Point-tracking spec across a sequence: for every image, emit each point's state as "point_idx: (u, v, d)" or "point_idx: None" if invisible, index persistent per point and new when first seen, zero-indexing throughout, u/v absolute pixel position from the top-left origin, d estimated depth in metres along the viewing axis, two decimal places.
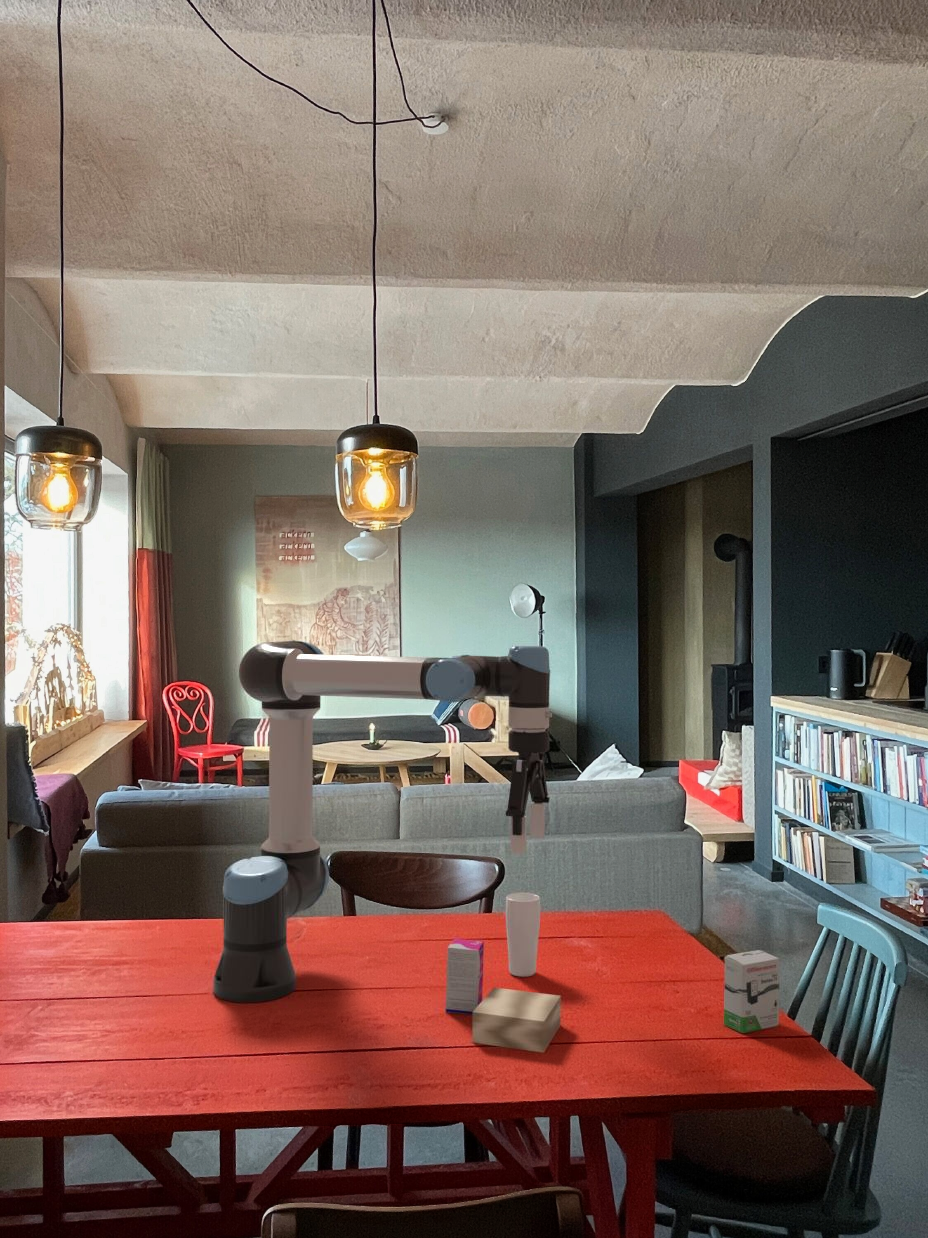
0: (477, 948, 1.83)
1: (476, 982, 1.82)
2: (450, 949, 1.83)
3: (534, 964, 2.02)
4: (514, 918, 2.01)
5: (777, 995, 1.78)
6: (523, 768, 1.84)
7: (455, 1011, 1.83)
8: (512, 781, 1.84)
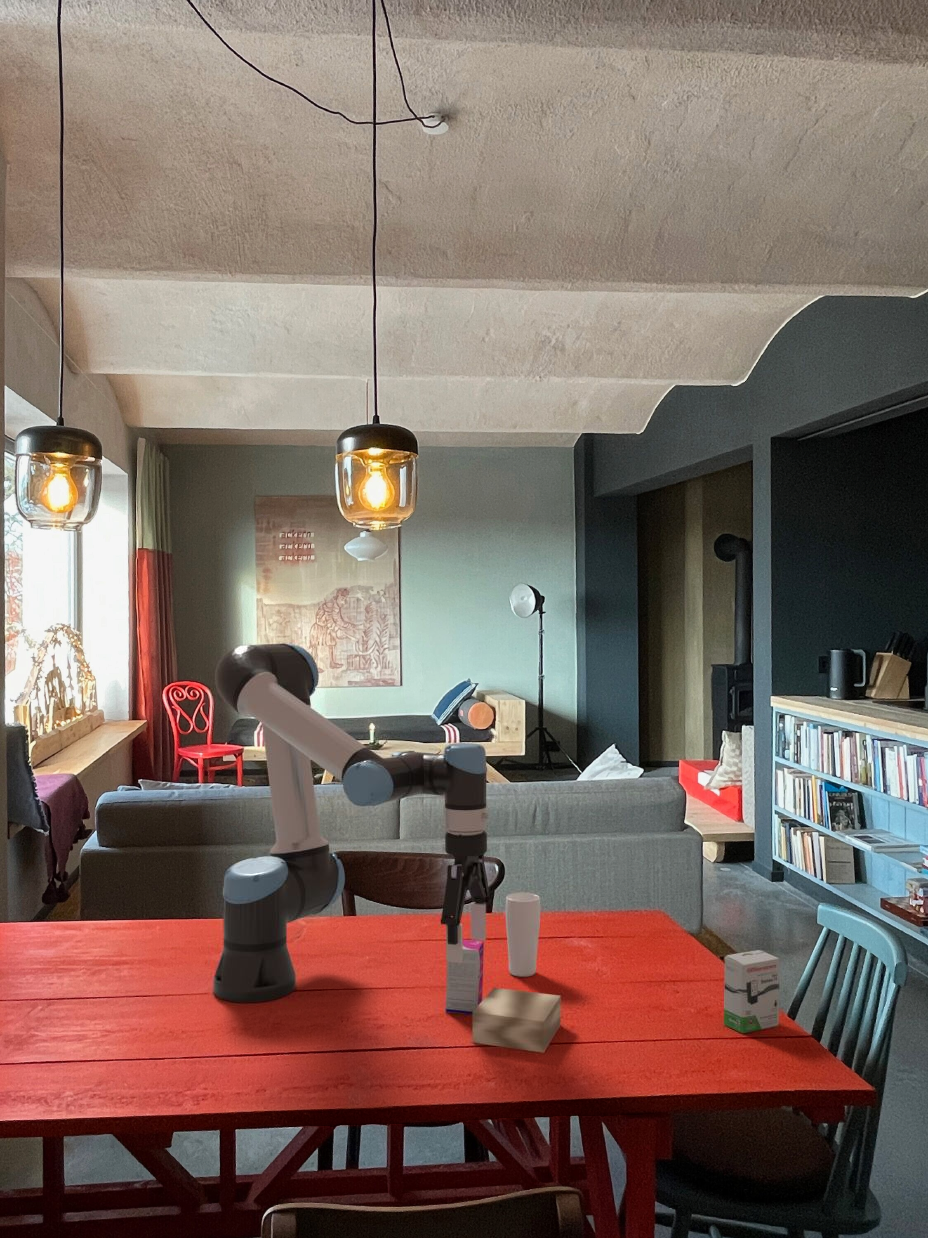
0: (477, 948, 1.83)
1: (476, 982, 1.82)
2: None
3: (534, 964, 2.02)
4: (514, 918, 2.01)
5: (777, 995, 1.78)
6: (458, 874, 1.78)
7: (455, 1011, 1.83)
8: (447, 888, 1.78)
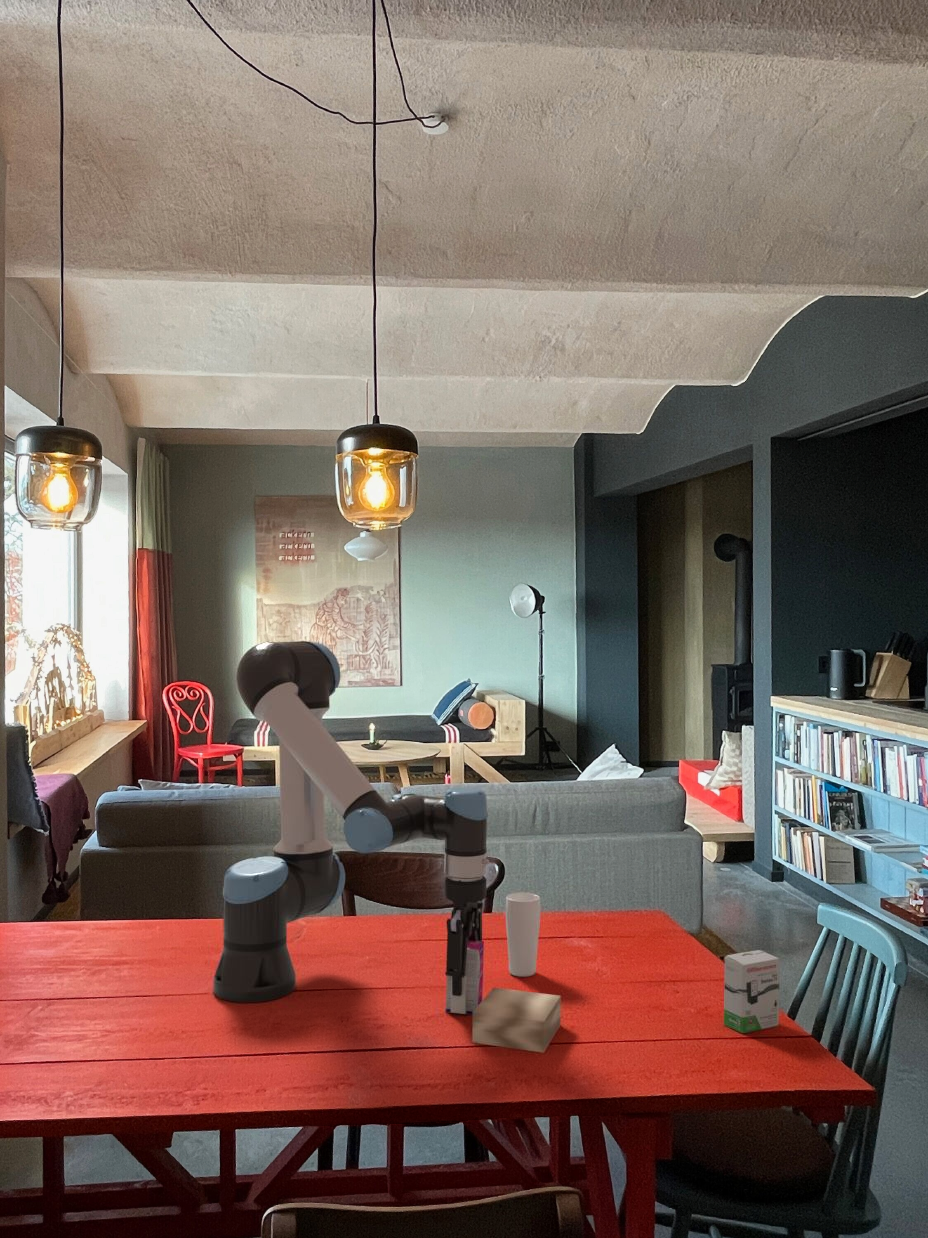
0: (477, 948, 1.83)
1: (476, 982, 1.82)
2: None
3: (534, 964, 2.02)
4: (514, 918, 2.01)
5: (777, 995, 1.78)
6: (458, 929, 1.79)
7: None
8: (448, 942, 1.79)
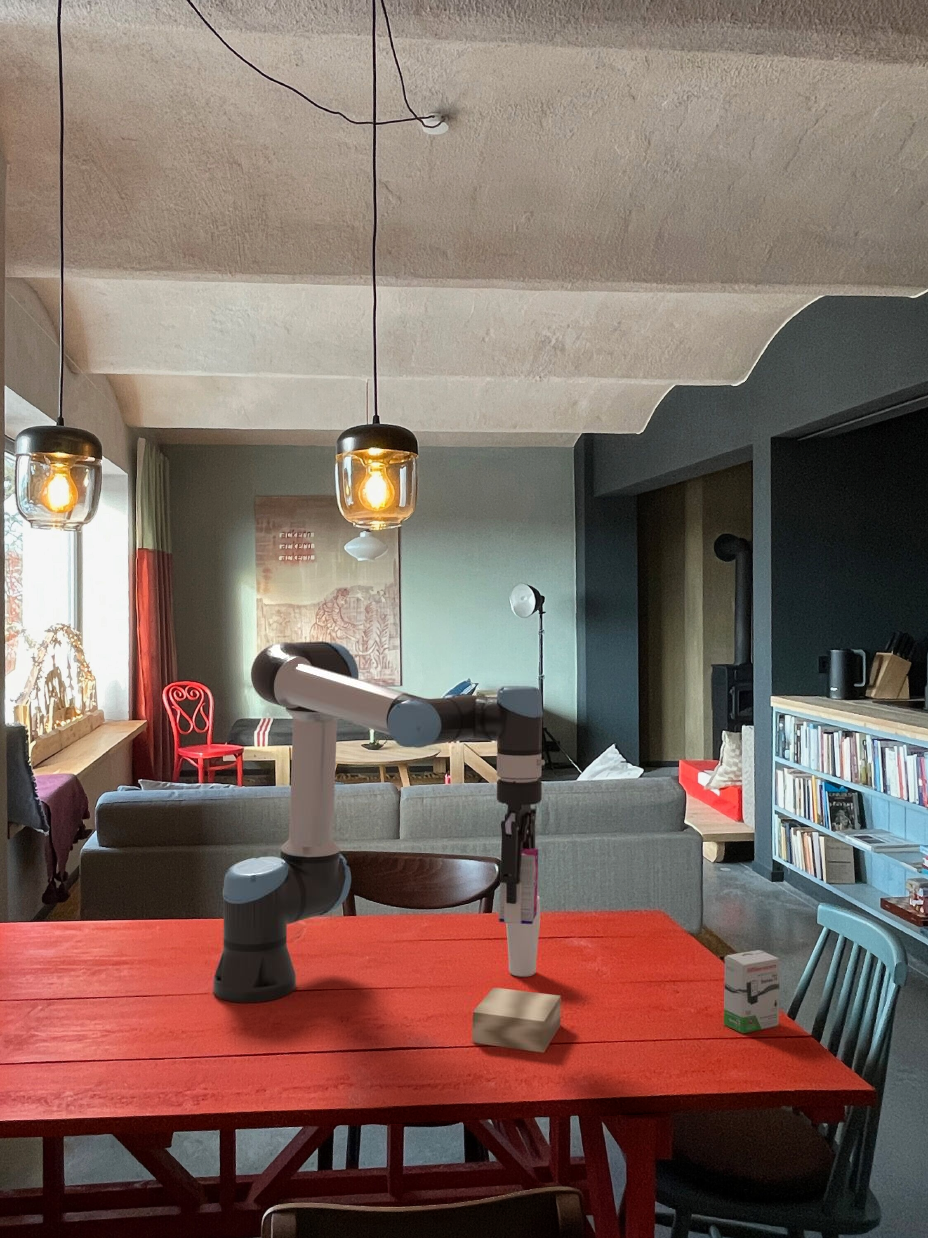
0: (533, 854, 1.72)
1: (532, 889, 1.71)
2: None
3: (534, 964, 2.02)
4: None
5: (777, 995, 1.78)
6: (513, 831, 1.68)
7: None
8: (502, 845, 1.68)
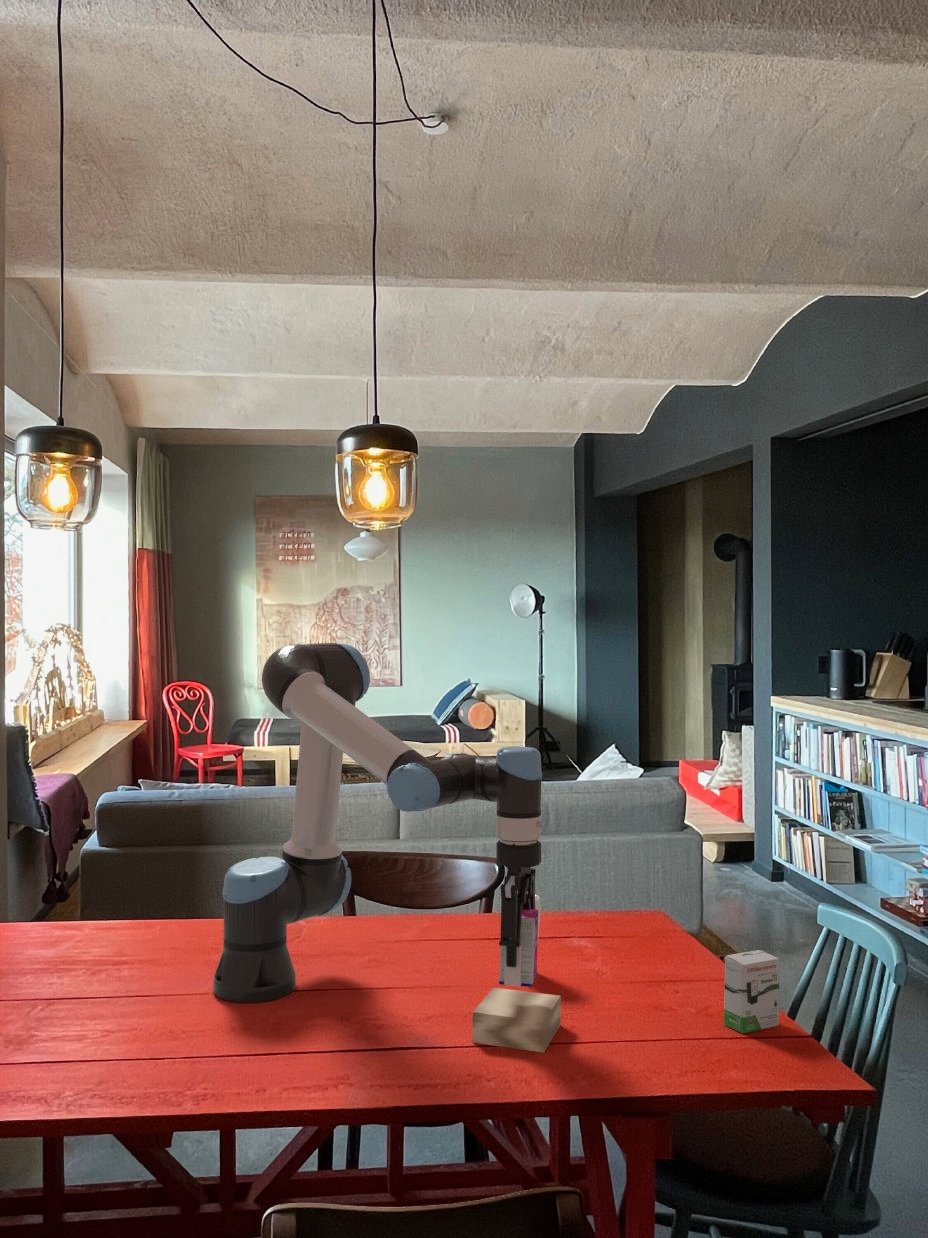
0: (532, 916, 1.72)
1: (532, 952, 1.71)
2: None
3: None
4: None
5: (777, 995, 1.78)
6: (513, 895, 1.67)
7: None
8: (502, 909, 1.68)
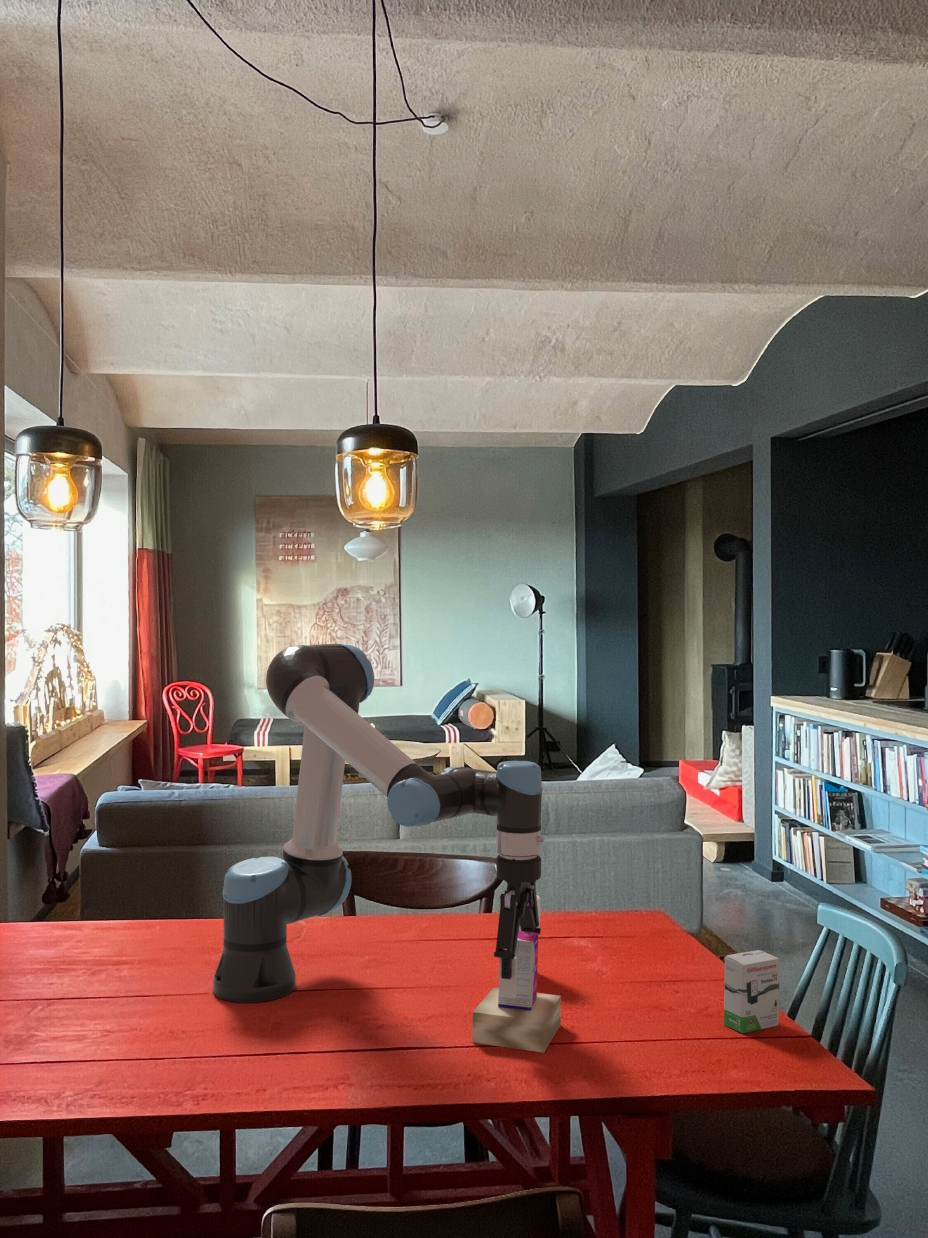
0: (532, 940, 1.72)
1: (531, 976, 1.71)
2: None
3: None
4: None
5: (777, 995, 1.78)
6: (512, 904, 1.67)
7: (508, 1006, 1.72)
8: (500, 919, 1.67)
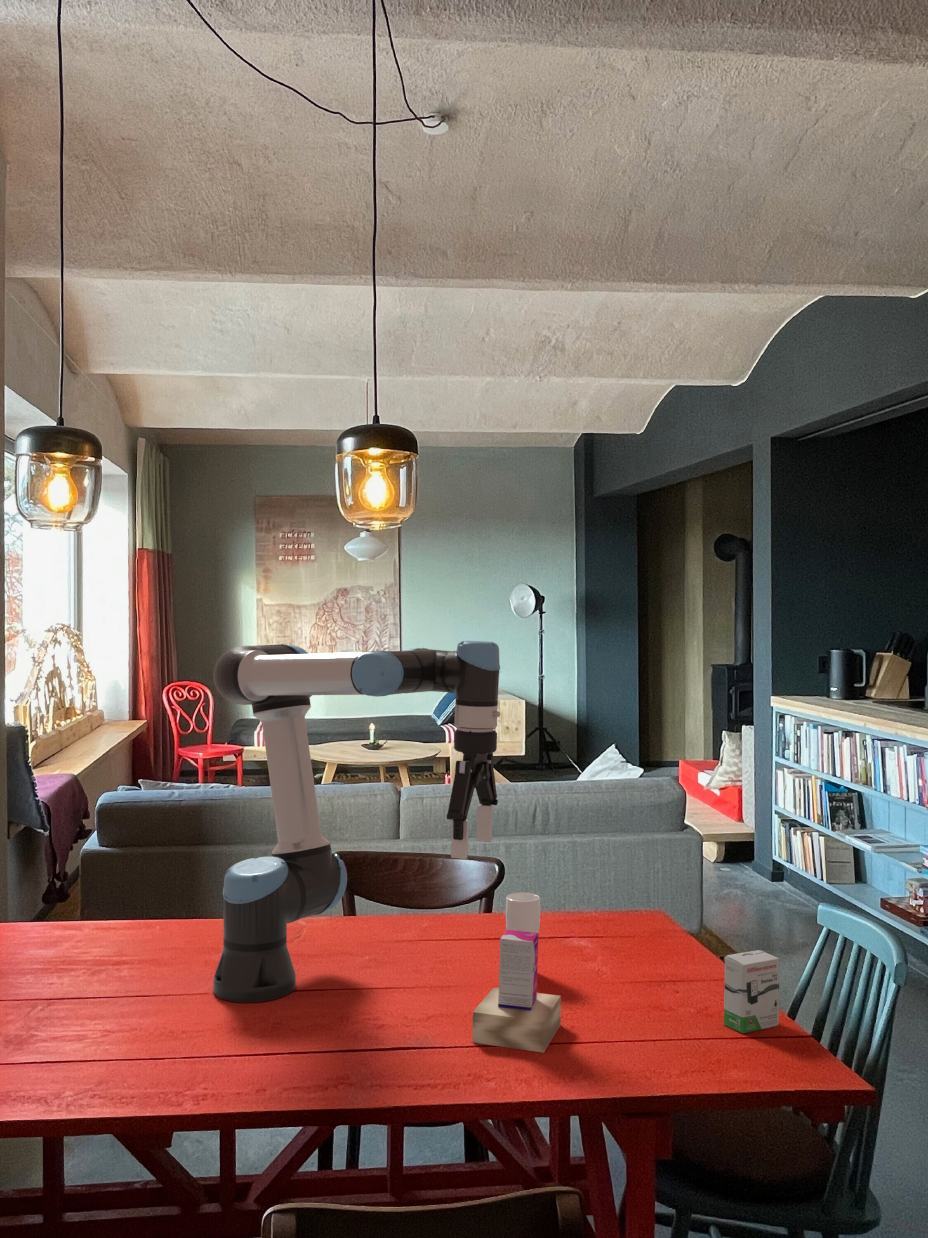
0: (532, 940, 1.72)
1: (531, 976, 1.71)
2: (503, 940, 1.72)
3: None
4: (514, 918, 2.01)
5: (777, 995, 1.78)
6: (466, 770, 1.76)
7: (508, 1006, 1.72)
8: (454, 783, 1.75)
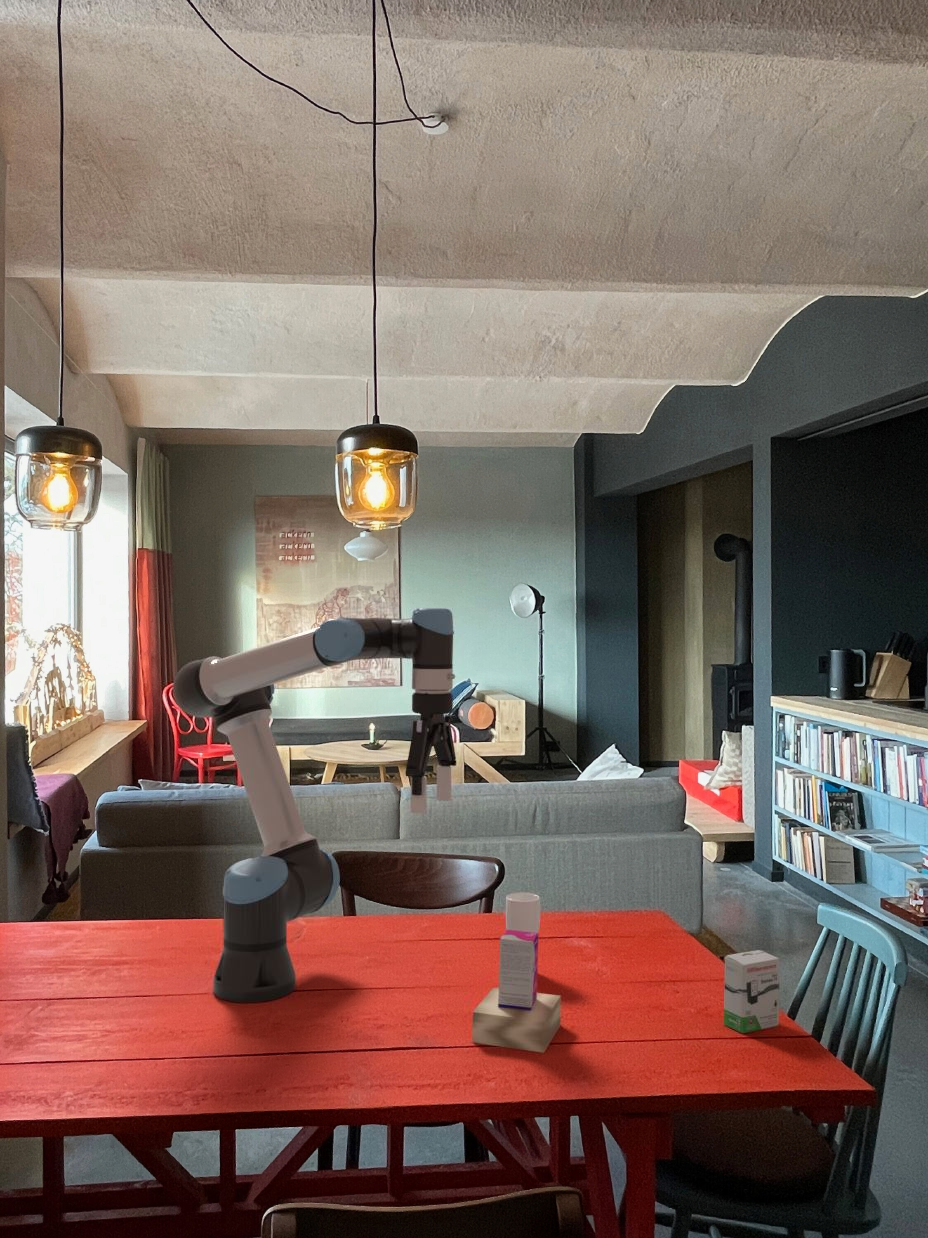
0: (532, 940, 1.72)
1: (531, 976, 1.71)
2: (503, 940, 1.72)
3: None
4: (514, 918, 2.01)
5: (777, 995, 1.78)
6: (423, 728, 1.85)
7: (508, 1006, 1.72)
8: (412, 741, 1.85)
